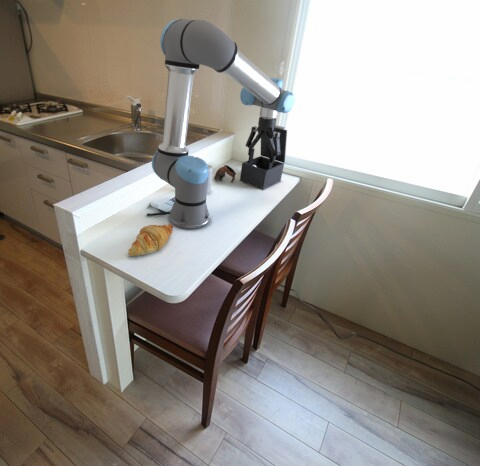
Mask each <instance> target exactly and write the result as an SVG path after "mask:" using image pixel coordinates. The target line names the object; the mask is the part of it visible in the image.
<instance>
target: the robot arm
mask: <svg viewBox="0 0 480 466" xmlns="http://www.w3.org/2000/svg"><path fill="white" fill-rule="evenodd" d="M159 40H160V41H159V42H160V43H159V45H160V49H161V51H162V54H163V55H164V66H165V68H166V69H167V72H168V73H167V87H166V97H165V110H164V111H165V112H164V120H163V121H164V122H163V135H162V142H160V144H158V146H157V149H156V151H155V153H154V154H153V156H152V159H151V168H152V171H153V172H154V173H155V175H156V176H157V177H158V178H159V179H160V180H162V181H164V182H166V183H167V184H168V185H170V186H171V187H173V188H174V202H173V205H172V207H171V210H170V211H166V212H165V211H164V212H154V213H146V216H147V217H153V216H164V215H165V216H166V215H169V221H170V224H171V225H173V226H176V227H177V228H179V229H183V230H197V229H202V228H204V227H206V226H208V224H209V223H210V217H211V214H210V211H209V209H208V208H209V207H208V204H207V194H208V193H207V185H208V177H209V173H208V165H209V164H208V163H207V162H206V161H205V160H204V159H203V158H201V157H198V156H194V155H189V152H190V149H189V148H188V146H187V145H186V143H187V134H188V127H189V117H190V109H191V102H192V92H193V85H194V84H193V83H194V78H195V77H194V76H195V74H196V73H198V71H200V65H202V66H206V67H208V68H210V69H212V70H214V71H215V72H217V73H219V74H222V73H223V74H225V75H226V76H227V77H229V78H230V79H232V80H233V81H234V82H235V83H236V84H238V85H239V86H241V87H242V89H241V90H240V93H239V98H240V99H239V100H240V101H241V104H243V105H244V106H250V107H251V106H257V107H260V109H259V110H260V111H259V117H258V122H257V125H258V126H256V125H254V126H251V131H250V133H249V136H248V138H247V140H246V143H245V148H248V151H247V155H248V160H247V161H248V163H251V162H253V159H254V156H255V155H254V154H255V150H256V149H255V146H256V145H257V143H258V142H259V141H261V138H264V139H266V140H267V142H268V145H269V148H270V151H271V155H270V157H269V162H268V168H267V169H270V168H272V165H273V163H274V162H275V161H276V160H275V158H276V156H278V155H280V132H278V133H277V132H275V131H274V128H275V125H277V117H278V113H282V114H287V113H290V112H291V111H292V109H293V107H294V105H295V104H296V103H295V102H296V96H295V94H294V93H293V92H291V91H289V90H284V89H283V87H284V80H283V79H282V78H278V77H269V76H268V75H267V74H265V73H264V71H262V70H261V69H260V68H259V67H258V66H257V65H256V64H254V63H253V62H252V61H251V60H250V59H249V58H248V57H247V56H245V55H244V54H243V53H242V52H241V51H240V50H239V46H238V43H236V42H235V41H234V39H232V38H231V37H230V36H229V35H228V34H226V33H225V32H224V31H223V30H222V29H220V28H219V27H218V26H217V25H215V24H213V23H211V22H210V21H207V20H206V19H205V20H204V19H189V18H178V19H174V20H172V21H170V22H168V23H167V25H165V26H164V28H163V29H162V32H161V35H160V38H159ZM256 133H257V135H256ZM273 134H274V142H273V137H272V135H273ZM269 138H270V139H269ZM274 144H275V146H274ZM207 164H208V165H207Z"/></svg>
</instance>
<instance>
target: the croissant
mask: <svg viewBox="0 0 480 466" xmlns="http://www.w3.org/2000/svg"><path fill="white" fill-rule="evenodd" d="M173 231H174V224H172V223H168V224H162V225H160V224H148V225H146V226H143V227H142V228H141V229H140V230H139V232H138V234H137V235H136V238H135V241H133V242H132V243H131V247H130V248H129V249H128V252H127V255H128V256H130V257H138V256H144V255H148V254H152V253H155V252H158V251H161V248H163V247H164V246H166V244H167V242H168V241H169V239H170V237H171V236H172V234H173Z"/></svg>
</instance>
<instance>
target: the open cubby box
mask: <svg viewBox="0 0 480 466" xmlns="http://www.w3.org/2000/svg"><path fill="white" fill-rule="evenodd" d="M268 162H269V158H267V157H264V156H261V155H260V156H257V157H253V162H251V163H248V160H246V161H243V162H242V164H241V170H240V176H239V182H242V183H245V184H246V185H250V186H252V187H254V188H257V189H259V190H266V189H268V188H270V187H272V186H274V185H276V184H278V183H280V182H281V180H282V175H283V172H284V167H285V163H283V162H280V161H276V160H275V162H274V163H273V165H272V168H270V169H267V168H268ZM252 165H256V167H255V166H252Z"/></svg>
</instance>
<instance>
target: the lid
mask: <svg viewBox="0 0 480 466" xmlns="http://www.w3.org/2000/svg"><path fill="white" fill-rule="evenodd" d="M274 131H275V132H277V133H278V132H280V155H278V156H276V158H275V161H278V162H281V163H284V164H285V163H286V155H287V154H286V153H287V139H288V130H287V127H286V126H282V125H277V124H276V125H275V128H274ZM272 137H273V142H274V134H273V135H272ZM269 139H270V138H269ZM274 146H275V144H274ZM270 155H271V151H270V148H269V145H268V142H267V140H266V139H264V138H260V156H262V157H266V158H269V157H270Z"/></svg>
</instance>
